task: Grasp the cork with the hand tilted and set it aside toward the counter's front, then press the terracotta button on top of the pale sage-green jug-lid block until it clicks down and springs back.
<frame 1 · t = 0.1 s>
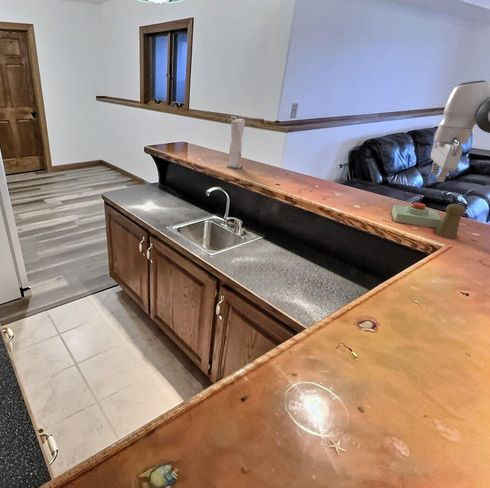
hand: (436, 177, 119), 19 cm above the counter, tool pointing down, fingers open, 8 cm apart
skyscraper: (233, 166, 206), on the counter
release button: (418, 206, 132), point 5 cm above the counter, slide at 0.1 cm
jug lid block: (413, 219, 134), on the counter
cork: (445, 235, 123), on the counter
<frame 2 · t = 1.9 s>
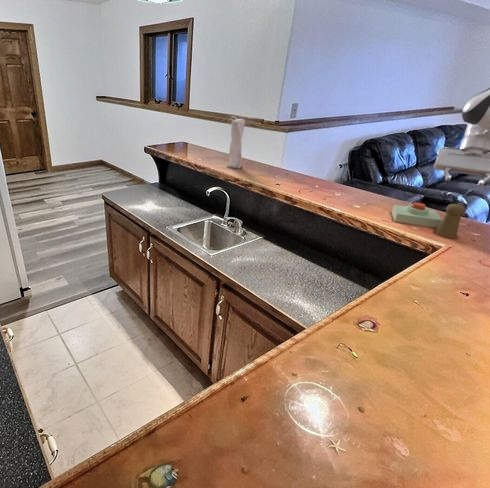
hand: (463, 182, 124), 16 cm above the counter, tool tilted 45°, fingers open, 8 cm apart
nothing on the counter moved.
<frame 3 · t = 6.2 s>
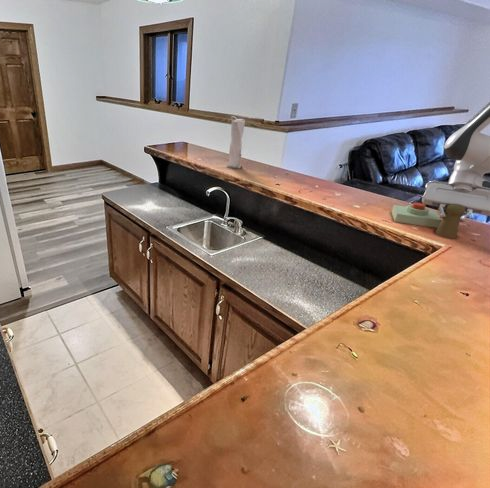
hand: (451, 219, 119), 6 cm above the counter, tool tilted 45°, fingers closed on cork, 4 cm apart
cork: (445, 235, 123), on the counter, touching gripper
everything else where it was.
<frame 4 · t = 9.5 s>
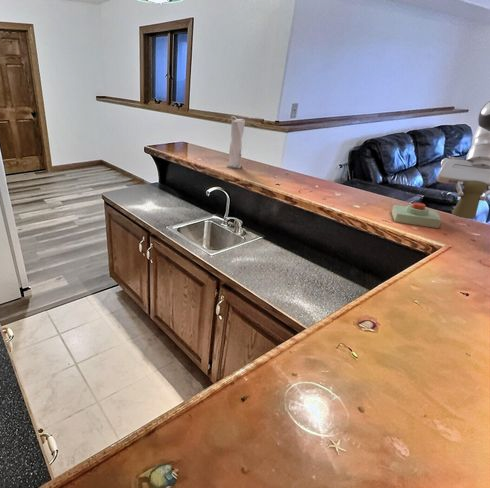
hand: (470, 197, 108), 16 cm above the counter, tool tilted 45°, fingers closed on cork, 4 cm apart
cork: (463, 215, 112), point 10 cm above the counter, touching gripper
everything else where it was.
when the fingers open (6 cm above the counter, at t = 13.1 s): cork stays where it is, on the counter.
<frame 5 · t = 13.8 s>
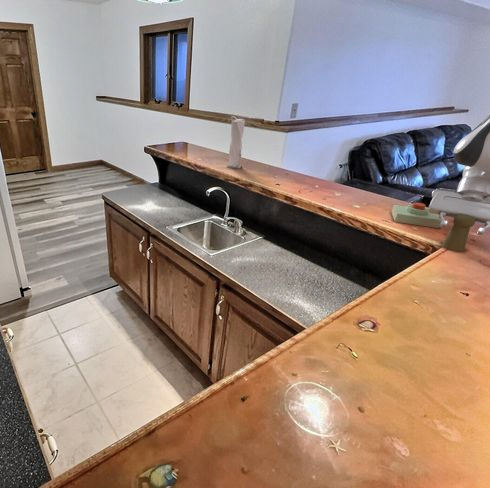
hand: (461, 230, 110), 6 cm above the counter, tool tilted 45°, fingers open, 8 cm apart
cork: (452, 247, 114), on the counter
everything else where it was.
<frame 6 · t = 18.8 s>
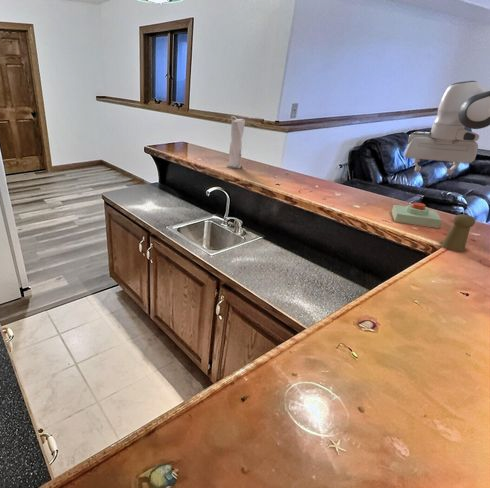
hand: (432, 172, 126), 19 cm above the counter, tool pointing down, fingers open, 8 cm apart
nothing on the counter moved.
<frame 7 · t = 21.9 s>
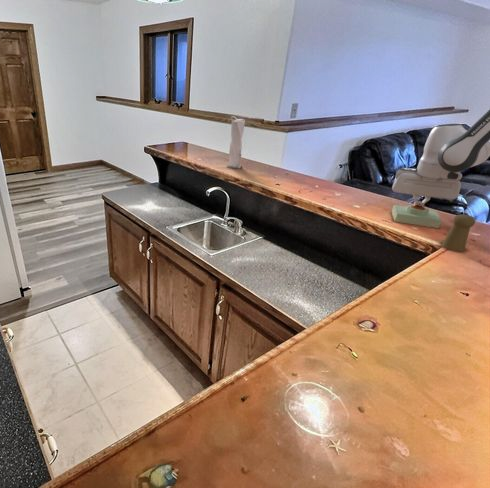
hand: (418, 206, 132), 5 cm above the counter, tool pointing down, fingers closed, pressing on release button
release button: (417, 208, 132), point 5 cm above the counter, slide at -0.8 cm, touching gripper
everything else where it was.
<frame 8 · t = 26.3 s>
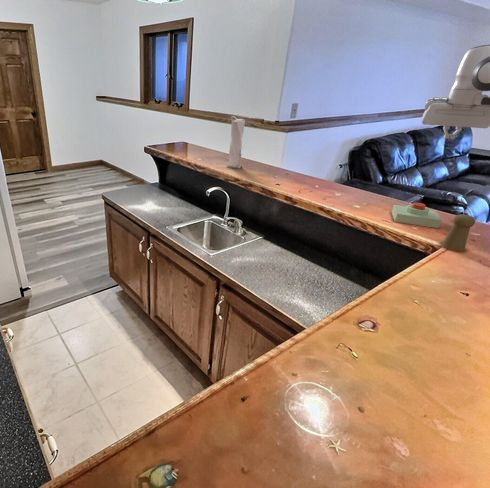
hand: (448, 139, 128), 29 cm above the counter, tool pointing down, fingers closed
release button: (418, 206, 132), point 5 cm above the counter, slide at 0.1 cm
everything else where it was.
at the end: cork inside the target area (0.1 cm from its centre), on the counter; release button pushed in 1.1 cm at the most during the clip, back to where it started at the end; release button slide at 0.1 cm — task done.
